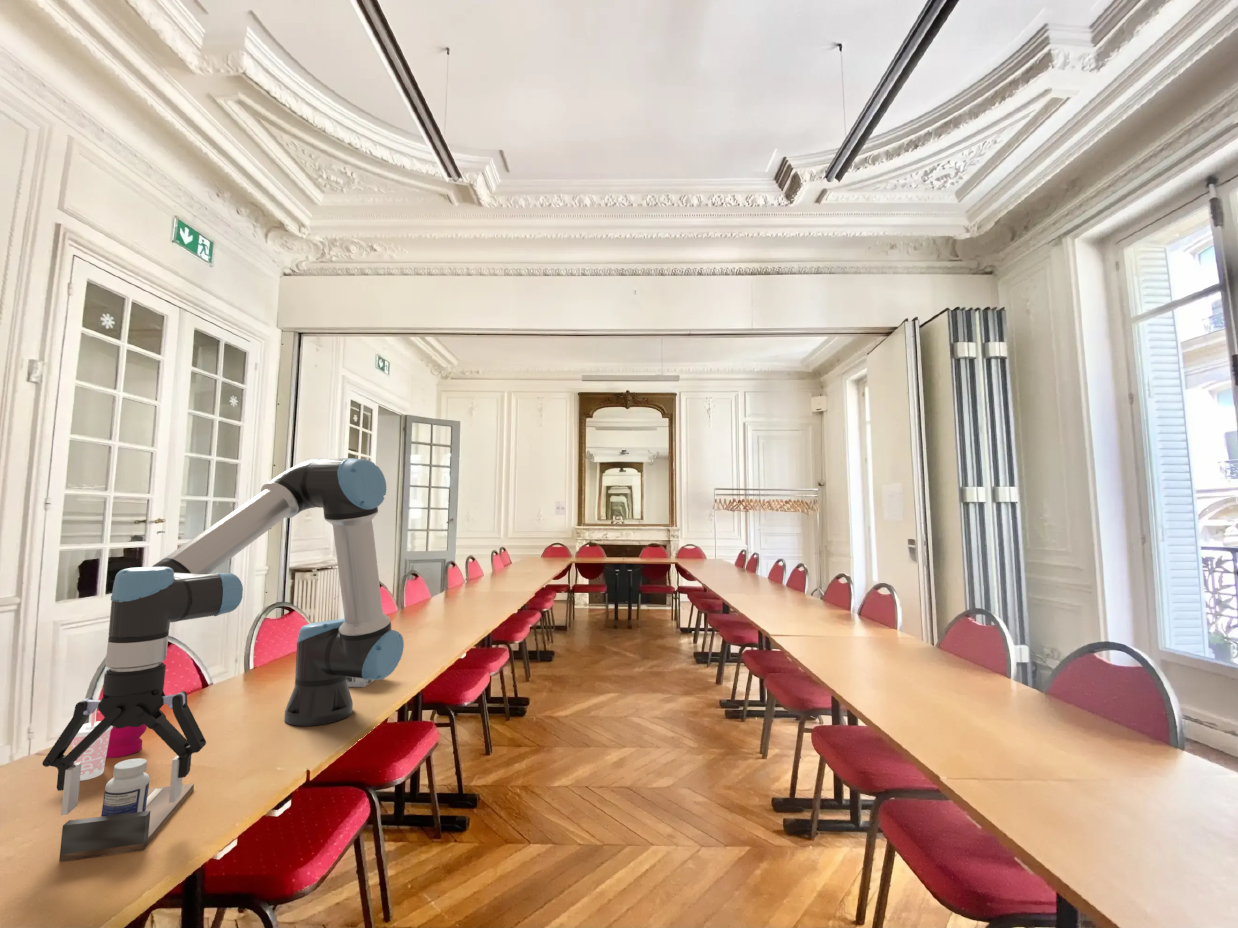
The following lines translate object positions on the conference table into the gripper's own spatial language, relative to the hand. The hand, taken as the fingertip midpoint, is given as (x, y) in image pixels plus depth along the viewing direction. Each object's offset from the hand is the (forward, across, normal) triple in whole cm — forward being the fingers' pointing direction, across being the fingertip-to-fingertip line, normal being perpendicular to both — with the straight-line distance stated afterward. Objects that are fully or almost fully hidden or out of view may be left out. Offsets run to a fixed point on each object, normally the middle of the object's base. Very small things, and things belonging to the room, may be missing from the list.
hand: (123, 804), depth 90 cm
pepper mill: (+5, +15, -38) cm, 41 cm away
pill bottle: (+4, 0, 0) cm, 4 cm away
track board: (+5, 0, -4) cm, 7 cm away
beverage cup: (+5, +16, -26) cm, 31 cm away
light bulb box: (+5, -27, -78) cm, 83 cm away
